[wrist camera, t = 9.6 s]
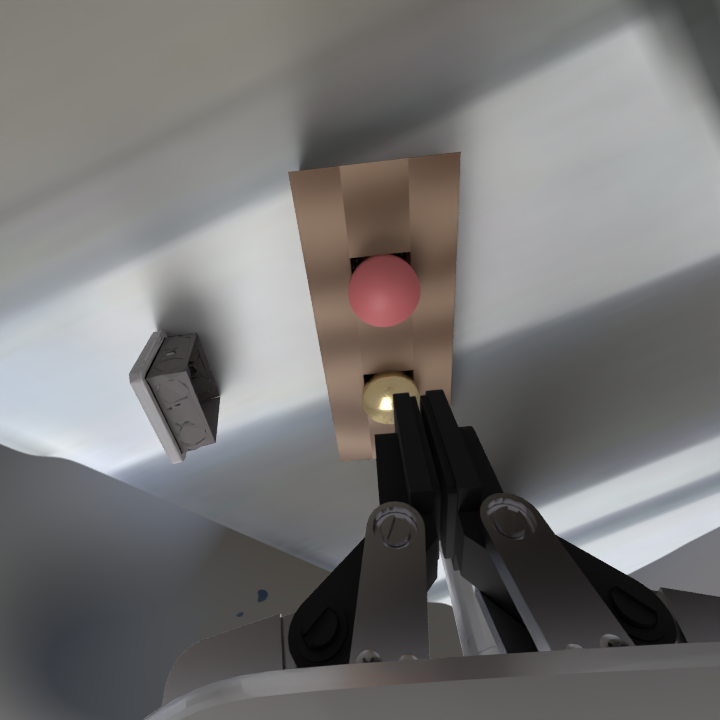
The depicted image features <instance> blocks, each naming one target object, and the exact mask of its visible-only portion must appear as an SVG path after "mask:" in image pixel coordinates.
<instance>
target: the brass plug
mask: <svg viewBox="0 0 720 720" xmlns="http://www.w3.org/2000/svg"><path fill="white" fill-rule="evenodd" d="M368 377H369V381H368V382H367V383H366V384H365V386H364V388H363V391H362V405H363V409H364V411H365V413H366V414H367V415H368V416H369V417H370V418H371V419H373V420H374V421H376V422H379V423H383V424H394V410H393V394H395V393H406V392H409V395H410V396H416V399H417V403H418V407H419V404H420V395H419V392H418V388H417V385H416V383H415V382H414V380H413V379H412V378H410V377H409V376H408V375H406V373H405V371H387V372H382V373H375V374H368Z"/></svg>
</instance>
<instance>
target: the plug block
mask: <svg viewBox="0 0 720 720" xmlns="http://www.w3.org/2000/svg"><path fill="white" fill-rule="evenodd" d="M460 153H461V152H455V153H446V154H437V155H429V156H420V157H412V158H403V159H395V160H386V161H378V162H369V163H361V164H352V165H344V166H335V167H327V168H318V169H309V170H301V171H292V172H288V174H289V179H290V185H291V190H292V196H293V201H294V207H295V212H296V218H297V224H298V229H299V235H300V240H301V246H302V251H303V257H304V262H305V268H306V273H307V279H308V284H309V290H310V295H311V301H312V306H313V312H314V317H315V323H316V329H317V334H318V340H319V345H320V351H321V356H322V362H323V367H324V373H325V378H326V384H327V389H328V395H329V400H330V406H331V411H332V417H333V422H334V428H335V433H336V439H337V445H338V450H339V456H340V461H353V460H365V459H376V449H375V436H374V434H386V433H395V425H394V424H383V423H379V422H376V421H374V420H373V419H371V418H370V417H369V416H368V415H367V414H366V413H365V411H364V409H363V405H362V391H363V388H364V386H365V384H366V381H365V374H375V373H382V372H387V371H406V370H407V375H408V376H409V377H410V378H412V379H413V380H414V382H415V383H416V385H417V388H418V392H419V395H425V392H426V391H428V390H439V389H442V390H443V391H444V393H445V396H446V398H447V401H448V403H449V406H450V401H451V376H452V351H453V327H454V302H455V277H456V252H457V227H458V202H459V178H460ZM393 253H402V256H403V260H405V261H406V262H407V263H408V264H409V265H410V266H411V267H412V269H413V270H414V272H415V273H416V275H417V277H418V280H419V283H420V299H419V302H418V305H417V307H416V309H415V310H414V312H413V313H412V314H411V315H410V316H409V317H408V318H407V319H406V320H404V321H403V322H401V323H399V324H397V325H394V326H389V327H377V326H372V325H370V324H367V323H365V322H364V321H362V320H361V319H360V318H359V317H358V316H357V315H356V314H355V313H354V311H353V309H352V307H351V305H350V301H349V283H350V279H351V276H352V274H353V264H352V258H356V257H365V256H374V255H380V254H393ZM419 410H420V404H419Z"/></svg>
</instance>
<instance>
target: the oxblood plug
mask: <svg viewBox="0 0 720 720" xmlns="http://www.w3.org/2000/svg"><path fill="white" fill-rule="evenodd" d="M419 299H420V283H419V280H418V277H417V275H416V273H415V272H414V270H413V269H412V267H411V266H410V265H409V264H408V263H407V262H406V261H405V260H403V259H401V258H400V257H397V256H394V255H393V254H380V255H374V256H365V257H362V259H361V260H360V262H359V265H358V267H357V268H356V269H355V271H354V272H353V274H352V276H351V279H350V283H349V301H350V305H351V307H352V309H353V311H354V313H355V314H356V315H357V316H358V317H359V318H360V319H361V320H362V321H364V322H365V323H367V324H370V325H372V326H377V327H389V326H394V325H397V324H399V323H401V322H403V321H404V320H406V319H407V318H408V317H409V316H410V315H411V314H412V313H413V312H414V310H415V309H416V307H417V305H418V302H419Z"/></svg>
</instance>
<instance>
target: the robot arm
mask: <svg viewBox="0 0 720 720" xmlns="http://www.w3.org/2000/svg"><path fill="white" fill-rule="evenodd" d="M393 410H394V425H395V433H386V434H374V436H375V449H376V462H377V475H378V488H379V501H380V506H378V507H377V508H376V509H374V510H373V512H372V513H371V515H370V516H369V518H368V522H367V526H366V534H365V538H364V539H363V540H362V541H361V542H360V543H359V544H358V545H357V546H356V547H355V548H354V549H353V550H352V551H351V553H350V554H349V555H348V556H347V557H346V558H345V559H344V560H343V561H342V562H341V563H340V564H339V565H338V566H337V567H336V568H335V570H334V571H333V572H332V573H331V574H330V575H329V576H328V577H327V578H326V579H325V580H324V581H323V582H322V583H321V584H320V586H319V587H318V588H317V589H316V590H315V591H314V592H313V593H312V594H311V595H310V596H309V597H308V598H307V599H306V600H305V601H304V602H303V603H302V605H301V606H300V607H299V609H298V610H297V612H294V613H292V614H289V615H286V616H283V617H281V614H277V615H274V616H271V617H268V618H265V619H262V620H259V621H256V622H253V623H250V624H247V625H244V626H241V627H239V628H236V629H233V630H230V631H227V632H224V633H221V634H218V635H215V636H212V637H209V638H207V639H204V640H201V641H199V642H197V643H195V644H193V645H191V646H190V647H189V648H188V649H187V650H186V651H185V652H184V653H183V654H182V655H181V656H180V657H179V658H178V659H177V661H176V663H175V664H174V666H173V667H172V669H171V671H170V673H169V676H168V680H167V682H166V686H165V691H164V696H163V702H162V707H161V708H160V709H158V710H156V711H155V712H153V713H152V714H150V715H149V716H148V717H147V718H145V719H144V720H720V597H718V596H712V595H705V594H699V593H693V592H687V591H680V590H675V589H669V588H663V587H660V589H659V590H658V591H654V590H650V589H648V588H647V587H645V586H644V585H643V584H641V583H639V582H638V581H636V580H635V579H633V578H631V577H629V576H628V575H626V574H624V573H622V572H621V571H619V570H617V569H615V568H613V567H612V566H610V565H608V564H606V563H605V562H603V561H601V560H599V559H598V558H596V557H594V556H592V555H590V554H589V553H587V552H585V551H583V550H582V549H580V548H578V547H576V546H574V545H573V544H571V543H569V542H567V541H566V540H564V539H562V538H560V537H559V536H557V535H555V534H554V532H553V531H552V529H551V528H550V527H549V525H548V524H547V523H546V521H545V520H544V518H543V517H542V516H541V514H540V513H539V511H538V510H537V509H536V508H535V507H534V506H533V505H532V504H531V503H529V502H528V501H526V500H525V499H524V498H521V497H519V496H517V495H514V494H509V493H503V490H502V488H501V486H500V484H499V482H498V480H497V478H496V475H495V473H494V471H493V469H492V467H491V465H490V463H489V460H488V458H487V456H486V454H485V452H484V450H483V447H482V445H481V443H480V441H479V439H478V437H477V435H476V432H475V430H474V429H473V427H472V426H466V427H458V425H457V423H456V420H455V418H454V416H453V413H452V411H451V408H450V406H449V403H448V401H447V398H446V396H445V393H444V391H443V390H442V389H439V390H428V391H426V392H425V395H420V410H419V407H418V403H417V399H416V396H410V395H409V392H406V393H395V394H393ZM439 551H440V553H441V558H442V562H443V567H444V571H445V575H446V580H447V584H448V589H449V593H450V597H451V602H452V606H453V611H454V615H455V619H456V624H457V628H458V632H459V637H460V642H461V646H462V650H463V655H464V656H463V657H447V658H432V659H429V632H428V602H427V592H428V590H429V589H430V587H431V586H432V584H433V583H434V582H435V580H436V579H437V566H438V559H439Z"/></svg>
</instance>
